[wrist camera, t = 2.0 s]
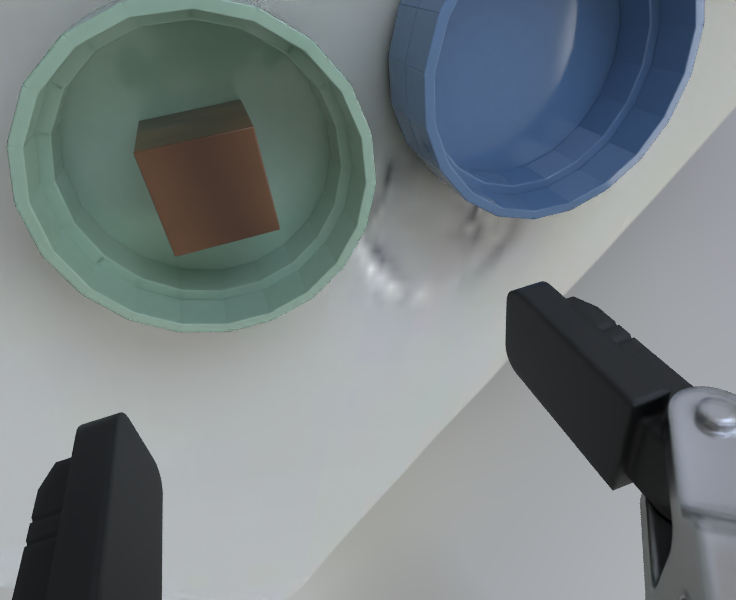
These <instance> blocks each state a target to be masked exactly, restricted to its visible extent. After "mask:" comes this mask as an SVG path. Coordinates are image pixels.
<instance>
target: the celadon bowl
mask: <svg viewBox="0 0 736 600" xmlns="http://www.w3.org/2000/svg"><path fill="white" fill-rule="evenodd" d="M235 100H241V101H242V103H243V105H244V107H245V109H246V111H247V113H248V115H249V117H250V119H251V121H252V124H253V126H254V128H255V132H256V136H257V140H258V144H259V148H260V151H261V155H262V159H263V163H264V167H265V171H266V175H267V179H268V183H269V187H270V191H271V194H272V198H273V202H274V206H275V210H276V214H277V218H278V222H279V226H280V229H279V230H277V231H273V232H269V233H265V234H261V235H257V236H254V237H250V238H246V239H242V240H238V241H234V242H231V243H227V244H223V245H219V246H215V247H211V248H208V249H204V250H200V251H196V252H192V253H189V254H185V255H181V256H177V257H175V256H174V253H173V251H172V248H171V246H170V243H169V241H168V238H167V236H166V234H165V231H164V229H163V226H162V224H161V221H160V219H159V216H158V214H157V211H156V209H155V206H154V204H153V201H152V199H151V196H150V194H149V191H148V189H147V187H146V184H145V182H144V179H143V177H142V174H141V172H140V169H139V167H138V164H137V162H136V159H135V157H134V154H133V153H134V147H135V141H136V134H137V128H138V122H139V121H141V120H146V119H150V118H155V117H160V116H164V115H169V114H174V113H179V112H183V111H188V110H193V109H197V108H202V107H207V106H211V105H216V104H221V103H225V102H230V101H235ZM7 153H8V161H9V168H10V175H11V183H12V190H13V197H14V203H15V206H16V208H17V210H18V212H19V214H20V216H21V217H22V219H23V221H24V223H25V225H26V227H27V229H28V231H29V233H30V234H31V236H32V238H33V240H34V242H35V244H36V246H37V248H38V250H39V251H40V253H41V255H42V256H43V257H44V258H45V259H46V260H47V261H48V262H49V263H50V264H51V265H52V266H53V267H54V268H55V269H56V270H57V271H58V272H59V273H60V274H61V275H62V276H63V277H64V278H65V279H66V280H67V281H68V282H69V283H70V284H71V285H72V286H73V287H74V288H75V289H76V290H77V291H79V292H80V293H81V294H83V296H85V297H87V298H89V299H91V300H92V301H94V302H96V303H98V304H100V305H102V306H104V307H105V308H107V309H109V310H111V311H113V312H115V313H117V314H118V315H120V316H122V317H124V318H126V319H128V320H130V321H134V322H138V323H142V324H146V325H151V326H155V327H159V328H163V329H167V330H171V331H175V332H227V331H228V332H229V331H233V330H237V329H241V328H245V327H248V326H252V325H256V324H260V323H264V322H268V321H271V320H274V319H276V318H278V317H279V316H281V315H283V314H285V313H287V312H288V311H290V310H292V309H294V308H295V307H297V306H299V305H301V304H303V303H304V302H306V301H308V300H310V299H311V298H313V297H314V296H315V295H316V294H317V293H318V292H319V291H320V290H321V289H322V288H323V287H324V286H325V285H326V284H327V283H328V282H329V281H330V280H331V279H332V278H333V277H334V276H335V275H336V274H337V273H338V272H339V271H341V270H342V269H343V267H344V266H345V264H346V263H347V261H348V259H349V257H350V256H351V254H352V252H353V250H354V249H355V247H356V245H357V243H358V241H359V240H360V238H361V236H362V234H363V233H364V231H365V229H366V226H367V222H368V217H369V213H370V208H371V204H372V199H373V195H374V190H375V186H376V176H375V164H374V153H373V142H372V134H371V130H370V128H369V126H368V123H367V121H366V119H365V116H364V114H363V112H362V109H361V107H360V105H359V102H358V100H357V97H356V95H355V93H354V90H353V88H352V86H351V84H350V83H349V81H348V80H347V79H346V78H345V77H344V76H343V74H342V73H341V72H340V71H339V70H338V69H337V68H336V66H335V65H334V64H333V63H332V62H331V61H330V60H329V58H328V57H327V56H326V55H325V54H324V53H323V52H322V50H321V49H320V48H319V47H318V46H317V45H316V43H315V42H314V41H313V40H311V39H310V38H309V37H307V36H306V35H304V34H303V33H301V32H299V31H298V30H296V29H295V28H293V27H291V26H290V25H288V24H287V23H285V22H283V21H281V20H280V19H278V18H276V17H275V16H273V15H271V14H270V13H268V12H266V11H265V10H263V9H261V8H260V7H258V6H256V5H255V4H253V3H251V2H250V1H248V0H114V1H112V2H111V3H109V4H107V5H105V6H103V7H101V8H100V9H98V10H96V11H94V12H92V13H91V14H89V15H87V16H85V17H83V18H82V19H80V20H79V21H78V22H77V23H75V24H74V25H73V26H72V27H70V28H69V29H68V30H67V31H65V32H64V33H63V34H62V35H61V36H60V37H59V38H58V40H57V41H56V42H55V43H54V45H53V46H52V47H51V49H50V50H49V51H48V52H47V54H46V55H45V56H44V57H43V59H42V60H41V61H40V63H39V64H38V65H37V66H36V68H35V69H34V70H33V71H32V73H31V74H30V75H29V77H28V78H27V79H26V80H25V82H24V83H23V86H22V87H21V91H20V94H19V98H18V102H17V106H16V110H15V114H14V117H13V121H12V125H11V129H10V133H9V137H8V140H7Z"/></svg>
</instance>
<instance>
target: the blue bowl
mask: <svg viewBox="0 0 736 600" xmlns="http://www.w3.org/2000/svg"><path fill="white" fill-rule="evenodd" d="M704 4H705V0H401V1H400V4H399V8H398V12H397V17H396V22H395V27H394V32H393V37H392V41H391V46H390V51H389V73H390V88H391V103H392V106H393V109H394V112H395V114H396V117H397V119H398V122H399V125H400V127H401V130H402V132H403V135H404V138H405V140H406V142H407V143H408V145H409V146H410V148H411V149H412V150H413V151H414V152H415V153H416V155H417V156H418V157H419V158H420V159H421V160H422V162H423V163H424V164H425V165H426V166H427V167H428V168H429V170H431V171H432V172H433V173H434V174H435V175H436V176H438V177H439V178H440V179H441V180H442V181H444V182H445V183H446V184H447V185H448V186H449V187H451V188H452V189H453V190H454V191H455V192H456V193H458V194H459V195H460V196H461V197H462V198H464V199H465V200H466V201H468V202H470V203H472V204H474V205H476V206H478V207H480V208H482V209H484V210H486V211H488V212H490V213H492V214H494V215H496V216H499V217H511V218H523V219H537V218H541V217H545V216H549V215H553V214H557V213H561V212H565V211H569V210H572V209H573V208H575V207H577V206H579V205H580V204H582V203H584V202H586V201H588V200H589V199H591V198H593V197H595V196H597V195H598V194H600V193H602V192H604V191H606V189H608V188H609V187H610V186H612V185H613V184H614V183H615V182H616V181H617V180H618V179H619V178H620V177H622V176H623V175H624V174H625V173H626V172H627V171H628V170H629V169H630V168H631V167H633V166H634V165H635V164H636V163H637V162H638V161H639V160H640V159H641V158H642V157H643V155H644V154H645V153H646V151H647V150H648V149H649V147H650V146H651V145H652V143H653V142H654V141H655V139H656V138H657V137H658V135H659V134H660V133H661V131H662V130H663V129H664V127H665V126H666V124H667V123H668V122H669V120H670V118H671V116H672V114H673V112H674V110H675V108H676V106H677V104H678V102H679V99H680V97H681V95H682V93H683V91H684V89H685V87H686V85H687V83H688V81H689V79H690V77H691V74H692V70H693V66H694V63H695V59H696V55H697V51H698V47H699V43H700V39H701V35H702V31H703V27H704Z"/></svg>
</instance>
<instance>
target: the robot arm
mask: <svg viewBox="0 0 736 600" xmlns="http://www.w3.org/2000/svg"><path fill="white" fill-rule="evenodd" d="M506 352H507V356H508V359H509V361H510V364H511V365H512V367H513V369H514V371H515V372H516V373H517V375H518V376H519V377H520V378H521V379H522V381H523V382H524V383H525V384H526V386H527V387H528V388H529V389H530V390H531V392H532V393H533V394H534V395H535V397H536V398H537V399H538V400H539V401H540V403H541V404H542V405H543V406H544V407H545V409H546V410H547V411H548V412H549V413H550V415H551V416H552V417H553V418H554V420H555V421H556V422H557V423H558V424H559V426H560V427H561V428H562V429H563V430H564V432H565V433H566V434H567V435H568V437H569V438H570V439H571V440H572V442H573V443H574V444H575V445H576V446H577V448H578V449H579V450H580V451H581V453H582V454H583V455H584V456H585V457H586V459H587V460H588V461H589V462H590V463H591V465H592V466H593V467H594V468H595V470H596V471H597V472H598V473H599V474H600V476H601V477H602V478H603V479H604V481H606V483H607V484H608V485H609V487H610V488H611V489H612V490H615V489H617V488H620V487H623V486H625V485H628V484H630V483H634V484H635V485H636V486H637V488H638V489H639V490H640V491H641V492H642V495H641V499H640V509H641V526H642V541H643V542H642V543H643V559H644V576H645V597H646V598H645V599H646V600H736V395H735V394H733V393H731V392H728V391H725V390H721V389H718V388H713V387H704V386H699V387H693V386H692V385H691V384H689V383H688V382H687V381H686V380H685V379H683V378H682V377H681V376H680V375H679V374H677V373H676V372H675V371H674V370H673V369H671V368H670V367H669V366H668V365H666V364H665V363H664V362H663V361H662V360H661V359H659V358H658V357H657V356H656V355H654V354H653V353H652V352H651V351H650V350H649V349H647V348H646V347H645V346H644V345H643V344H641V343H640V342H639V341H638V340H637V339H635V338H631V336H630V334H629V333H628V332H627V331H626V330H625V329H623V328H622V327H621V326H620V325H616V323H615V321H614V320H612V319H611V318H610V317H609V316H608V315H606V314H605V313H604V312H603V311H602V310H601V309H599V308H598V307H596V306H594V305H592V304H590V303H587V302H584V301H583V300H580V299H578V298H576V297H570V298H567V299H566V298H565V297H563V296H562V295H561V294H560V293H559V292H558V291H557V290H555V289H554V288H553V287H552V286H551V285H550V284H548V283H547V282H543V281H542V282H538V283H535V284H532V285H529V286H525V287H522V288H519V289H516V290H513V291H510V292H509V293H508V296H507V307H506ZM162 504H163V491H162V482H161V477H160V473H159V470H158V467H157V465H156V463H155V461H154V459H153V457H152V456H151V454H150V452H149V451H148V449H147V447H146V446H145V444H144V442H143V441H142V439H141V438H140V436H139V434H138V433H137V431H136V429H135V428H134V426H133V424H132V423H131V421H130V419H129V418H128V417H127V415H126V414H124V413H122V412H121V413H117V414H114V415H111V416H108V417H105V418H102V419H98V420H95V421H92V422H89V423H86V424H82V425H80V426H79V427H78V429H77V431H76V436H75V441H74V446H73V452H72V457H71V458H68V459H65V460H62V461H59V462H56V463H55V464H54V466H53V468H52V469H51V471H50V472H49V474H48V475H47V477H46V479H45V480H44V482H43V483H42V485H41V486H40V488H39V489H38V492H37V497H36V501H35V505H34V509H33V513H32V521H33V522H32V523H30V526H29V530H28V534H27V539H26V542H27V546H26V547H24V551H23V555H22V560H21V564H20V568H19V572H18V576H17V581H16V585H15V589H14V593H13V598H12V600H162Z"/></svg>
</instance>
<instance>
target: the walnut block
mask: <svg viewBox="0 0 736 600" xmlns="http://www.w3.org/2000/svg"><path fill="white" fill-rule="evenodd" d="M133 154H134V157H135V159H136V162H137V164H138V167H139V169H140V172H141V174H142V177H143V179H144V182H145V184H146V187H147V189H148V191H149V194H150V196H151V199H152V201H153V204H154V206H155V209H156V211H157V214H158V216H159V219H160V221H161V224H162V226H163V229H164V231H165V234H166V236H167V238H168V241H169V243H170V246H171V248H172V251H173V253H174V256H175V257H177V256H181V255H185V254H189V253H192V252H196V251H200V250H204V249H208V248H211V247H215V246H219V245H223V244H227V243H231V242H234V241H238V240H242V239H246V238H250V237H254V236H257V235H261V234H265V233H269V232H273V231H277V230H279V229H280V226H279V222H278V218H277V214H276V210H275V206H274V202H273V198H272V194H271V191H270V187H269V183H268V179H267V175H266V171H265V167H264V163H263V159H262V155H261V151H260V148H259V144H258V140H257V136H256V132H255V128H254V126H253V124H252V121H251V119H250V117H249V115H248V113H247V111H246V109H245V107H244V105H243V103H242V101H241V100H235V101H230V102H225V103H221V104H216V105H211V106H207V107H202V108H197V109H193V110H188V111H183V112H179V113H174V114H169V115H164V116H160V117H155V118H150V119H146V120H141V121H139V122H138V128H137V134H136V141H135V147H134V153H133Z"/></svg>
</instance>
